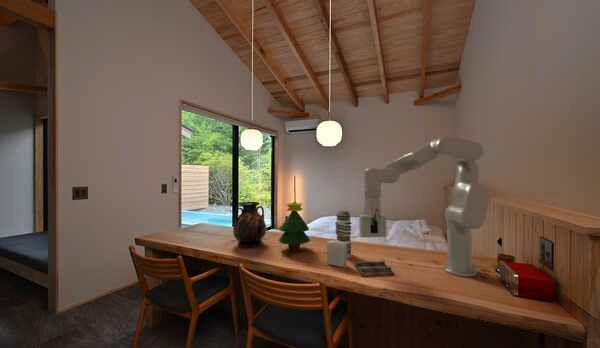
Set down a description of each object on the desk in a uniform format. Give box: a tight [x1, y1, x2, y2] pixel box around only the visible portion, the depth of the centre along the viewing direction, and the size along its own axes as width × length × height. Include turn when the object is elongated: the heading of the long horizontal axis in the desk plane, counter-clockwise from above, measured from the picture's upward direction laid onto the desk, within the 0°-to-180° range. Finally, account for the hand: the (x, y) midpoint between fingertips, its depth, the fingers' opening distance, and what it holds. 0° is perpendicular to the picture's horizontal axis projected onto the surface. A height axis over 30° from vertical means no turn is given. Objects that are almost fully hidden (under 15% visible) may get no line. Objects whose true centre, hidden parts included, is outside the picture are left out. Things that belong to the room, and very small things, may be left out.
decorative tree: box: [278, 201, 311, 253], centre depth 142 cm, size 19×19×30 cm
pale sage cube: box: [358, 214, 387, 238], centre depth 111 cm, size 12×3×10 cm, turn 93°
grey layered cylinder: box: [335, 210, 352, 258], centre depth 132 cm, size 9×9×25 cm
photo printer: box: [326, 239, 348, 268], centre depth 118 cm, size 10×4×12 cm, turn 60°
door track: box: [353, 260, 395, 277], centre depth 111 cm, size 15×12×3 cm
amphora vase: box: [232, 201, 267, 249], centre depth 152 cm, size 22×22×28 cm
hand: (372, 231), depth 111 cm, fingers closed on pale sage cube, 3 cm apart
